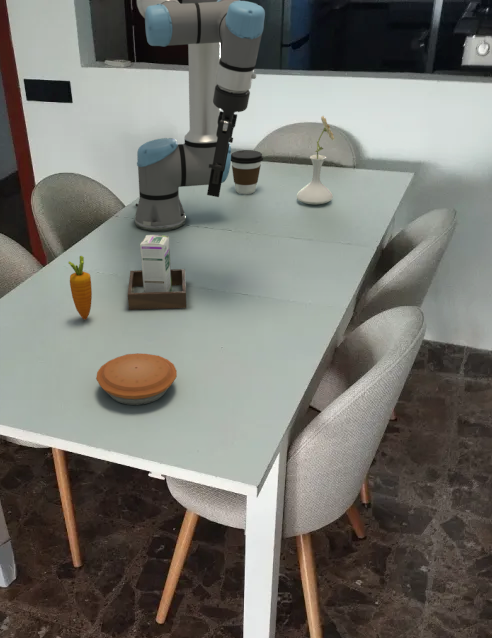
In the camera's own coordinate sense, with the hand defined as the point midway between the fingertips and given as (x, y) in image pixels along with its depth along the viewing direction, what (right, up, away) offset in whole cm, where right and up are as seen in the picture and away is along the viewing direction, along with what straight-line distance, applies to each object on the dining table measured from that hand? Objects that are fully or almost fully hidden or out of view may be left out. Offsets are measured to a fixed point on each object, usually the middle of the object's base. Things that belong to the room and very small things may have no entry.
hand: (216, 182), depth 163 cm
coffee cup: (+14, +21, +71) cm, 75 cm away
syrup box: (-14, -25, +8) cm, 30 cm away
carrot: (-30, -32, -1) cm, 44 cm away
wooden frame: (-14, -25, +8) cm, 30 cm away
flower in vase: (+35, +15, +61) cm, 72 cm away
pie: (-17, -50, -26) cm, 58 cm away
